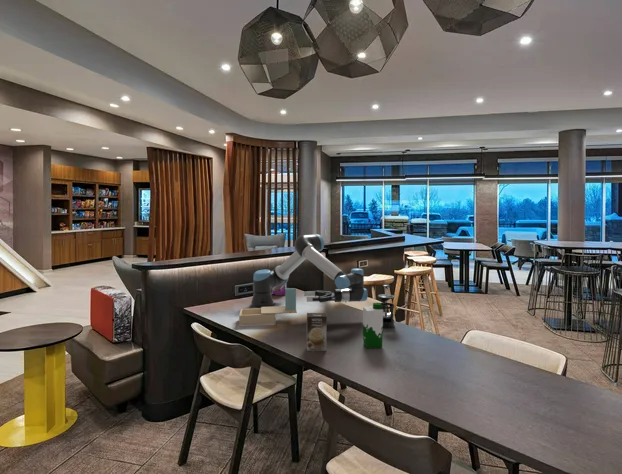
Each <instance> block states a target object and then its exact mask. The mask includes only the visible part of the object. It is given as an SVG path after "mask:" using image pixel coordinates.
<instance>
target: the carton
mask: <svg viewBox="0 0 622 474" xmlns="http://www.w3.org/2000/svg"><path fill="white" fill-rule="evenodd" d="M238 317H239V318H238V322H239V323H238V324H239V327H250V326H251V327H252V326H275V325H276V314H261V307H254V308H241V309H240V312H239V315H238Z"/></svg>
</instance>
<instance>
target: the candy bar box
mask: <svg viewBox="0 0 622 474" xmlns="http://www.w3.org/2000/svg"><path fill="white" fill-rule="evenodd" d="M285 288H287V283H286V284H284V285H282V286H277V287H272V288H271V294H275V295H274V296H285Z"/></svg>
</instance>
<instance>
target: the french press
mask: <svg viewBox="0 0 622 474" xmlns="http://www.w3.org/2000/svg"><path fill="white" fill-rule="evenodd" d="M381 286H383V287H384V288H385V293H382V294H381V293H380V294H378V295H377V297H378V300H379V301H381V302H380V303H381V304H382V309H383V310H389V312H387V311H383V329H394V328H395V319H394V316H395V315H394V308H395V304H394V303H392V302H389V300H394V298H395V295H393V294H389V293H388V294H387V289H388V287H391V284H382V285H381ZM384 305H385V306H384Z"/></svg>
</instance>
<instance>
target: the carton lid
mask: <svg viewBox="0 0 622 474" xmlns="http://www.w3.org/2000/svg"><path fill="white" fill-rule="evenodd" d="M284 299H285V300H284V302H285V303H284V304H285V305H283V306H282V305H280V306H269V307H260V308H261V314H275V315H276V314H278V315H280V314H297V313H298V312H297V289H296V287H290V288H289V287H286V288H285V295H284Z"/></svg>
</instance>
